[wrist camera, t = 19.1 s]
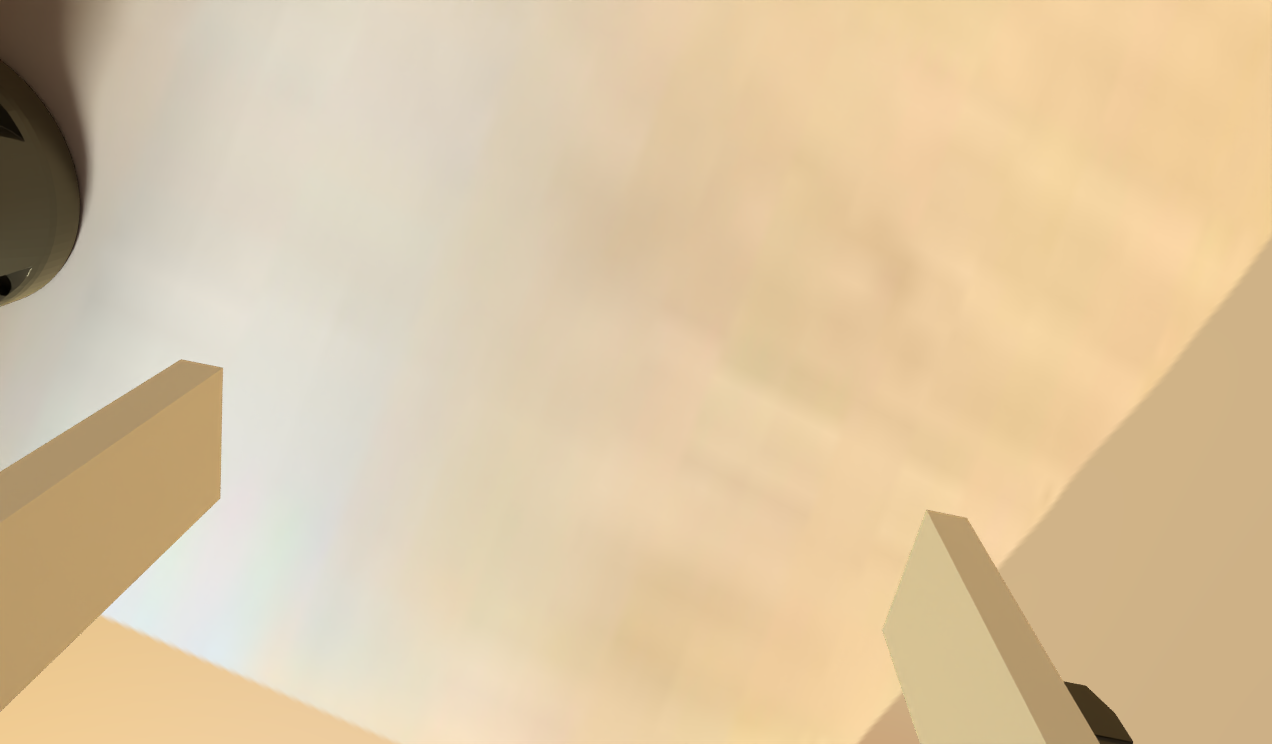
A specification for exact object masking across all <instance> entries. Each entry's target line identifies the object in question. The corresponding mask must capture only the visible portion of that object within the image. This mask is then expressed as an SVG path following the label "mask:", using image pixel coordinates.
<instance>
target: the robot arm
mask: <svg viewBox="0 0 1272 744" xmlns="http://www.w3.org/2000/svg"><path fill="white" fill-rule="evenodd" d="M79 214H80V198H79V188H78V181H77V176H76V172H75V168H74V164H73V161H72V158H71V155H70V152H69V150H68V147H67V145H66V142H65V140H64V138H63V136H62V134H61V132H60V130H59V128H58V126H57V124H56V123H55V121H54V119H53V118H52V116H51V114H50V113H49V111H48V110H47V108H46V107H45V106H44V104H43V103H42V102H41V100H40V99H39V98H38V96H37V95H36V94H35V93H34V92H33V90H32V89H31V88H30V87H29V86H28V85H27V84H26V83H25V82H24V81H23V80H22V79H21V78H20V77H19V76H18V75H17V74H16V73H15V72H14V71H13V70H12V69H11V68H9V67H8V66H7V65H6V64H5V63H3V62H2V61H1V60H0V307H1V306H4V305H6V304H9V303H12V302H14V301H17V300H20V299H22V298H25V297H27V296H29V295H31V294H33V293H35V292H36V291H38V290H39V289H41V288H42V287H44V286H45V285H46V284H47V283H49V282H50V281H51V280H52V279H53V278H54V277H55V275H56V274H57V273H58V272H59V271H60V269H61V268H62V266H63V265H64V264H65V262H66V260H67V258H68V256H69V254H70V252H71V250H72V248H73V245H74V242H75V239H76V234H77V230H78V224H79ZM222 383H223V368H221V367H216V366H211V365H206V364H201V363H196V362H191V361H186V360H182V359H181V360H179V361H178V362H176V363H175V364H173V365H171V366H170V367H168V368H167V369H165V370H163V371H162V372H160V373H158V374H157V375H155V376H154V377H152V378H150V379H149V380H147V381H146V382H144V383H142V384H141V385H139V386H138V387H136V388H134V389H133V390H131V391H130V392H128V393H126V394H125V395H123V396H121V397H120V398H118V399H117V400H115V401H113V402H112V403H110V404H109V405H107V406H105V407H104V408H102V409H101V410H99V411H97V412H96V413H94V414H93V415H91V416H89V417H88V418H86V419H84V420H83V421H81V422H80V423H78V424H76V425H75V426H73V427H72V428H70V429H68V430H67V431H65V432H64V433H62V434H60V435H59V436H57V437H56V438H54V439H52V440H51V441H49V442H48V443H46V444H44V445H43V446H41V447H39V448H38V449H36V450H35V451H33V452H31V453H30V454H28V455H27V456H25V457H23V458H22V459H20V460H19V461H17V462H15V463H14V464H12V465H11V466H9V467H7V468H6V469H4V470H2V471H1V472H0V712H1V711H2V709H4V708H5V707H6V706H7V705H8V704H9V703H10V702H11V701H12V700H13V699H14V698H15V697H16V696H17V695H18V694H19V693H20V692H21V691H22V690H23V689H24V688H25V687H26V686H27V685H28V684H29V683H30V682H31V681H32V680H34V679H35V678H36V676H38V675H39V674H40V673H41V672H42V671H43V669H45V668H46V667H47V666H48V665H49V664H50V663H51V662H52V661H53V660H54V659H55V658H56V657H57V656H58V655H59V654H60V653H61V652H62V651H63V650H64V649H65V648H66V647H68V646H69V645H70V643H72V642H73V641H74V640H75V639H76V638H77V637H78V636H79V635H80V634H81V633H82V632H83V631H84V630H85V629H86V628H87V627H88V626H89V625H90V624H91V623H92V622H93V621H94V620H95V619H96V618H97V617H98V616H99V615H100V614H102V613H103V612H104V611H105V610H106V609H107V608H108V607H109V606H110V605H111V604H112V603H113V602H114V601H115V600H116V599H117V598H118V597H119V596H120V595H121V594H122V593H123V592H124V591H125V590H126V589H127V588H128V587H129V586H130V585H131V584H132V583H133V582H134V581H136V580H137V579H138V578H139V577H140V576H141V575H142V574H143V573H144V572H145V571H146V570H147V569H148V568H149V567H150V566H151V565H152V564H153V563H154V562H155V561H156V560H157V559H158V558H159V557H160V556H161V555H162V554H163V553H164V552H165V551H166V550H167V549H168V548H170V547H171V546H172V545H173V544H174V543H175V542H176V541H177V540H178V539H179V538H180V537H181V536H182V535H183V534H184V533H185V532H186V531H187V530H188V529H189V528H190V527H191V526H192V525H193V524H194V523H195V522H196V521H197V520H198V519H199V518H200V517H201V516H202V515H203V514H205V513H206V512H207V511H208V510H209V509H210V508H211V507H212V506H213V505H214V504H215V503H216V502H217V501H218V500H219V499H220V484H221V433H222ZM882 631H883V634H884V637H885V640H886V643H887V646H888V649H889V652H890V655H891V658H892V661H893V664H894V667H895V670H896V673H897V676H898V679H899V682H900V685H901V688H902V691H903V694H904V697H905V700H906V703H907V706H908V709H909V712H910V715H911V718H912V721H913V724H914V728H915V731H916V734H917V737H918V740H919V743H920V744H1133V741H1132V739H1131V738H1130V736H1129V735H1128V733H1127V731H1126V730H1125V728H1124V727H1123V725H1122V724H1121V722H1120V720H1119V719H1118V717H1117V716H1116V714H1115V713H1114V712H1113V711H1112V710H1111V709H1110V708H1109V707H1107V705H1106V704H1105V703H1104V702H1102V701H1101V700H1100V699H1099V698H1098V697H1097V696H1096V695H1095V694H1094V693H1093V692H1092V691H1091V690H1090V689H1089V688H1088V687H1087V686H1084V685H1079V684H1074V683H1069V682H1064V681H1063V680H1062V679H1061V677H1060V675H1059V674H1058V672H1057V670H1056V669H1055V667H1054V665H1053V663H1052V662H1051V660H1050V658H1049V657H1048V655H1047V653H1046V651H1045V650H1044V648H1043V646H1042V645H1041V643H1040V641H1039V640H1038V638H1037V636H1036V635H1035V633H1034V631H1033V629H1032V628H1031V626H1030V624H1029V623H1028V621H1027V619H1026V618H1025V616H1024V614H1023V612H1022V611H1021V609H1020V608H1019V606H1018V604H1017V602H1016V601H1015V599H1014V597H1013V596H1012V594H1011V592H1010V590H1009V589H1008V587H1007V585H1006V584H1005V582H1004V580H1003V579H1002V577H1001V575H1000V573H999V572H998V570H997V568H996V567H995V565H994V563H993V562H992V560H991V558H990V557H989V555H988V553H987V551H986V550H985V548H984V546H983V545H982V543H981V541H980V540H979V538H978V536H977V534H976V533H975V531H974V529H973V528H972V526H971V524H970V523H969V521H968V519H967V518H964V517H959V516H954V515H950V514H945V513H940V512H935V511H930V510H926V512H925V515H924V518H923V520H922V523H921V526H920V528H919V531H918V534H917V537H916V539H915V542H914V545H913V548H912V550H911V553H910V556H909V558H908V561H907V564H906V567H905V569H904V572H903V575H902V577H901V580H900V583H899V586H898V588H897V591H896V594H895V596H894V599H893V602H892V605H891V607H890V610H889V613H888V616H887V618H886V621H885V624H884V626H883V629H882Z"/></svg>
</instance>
